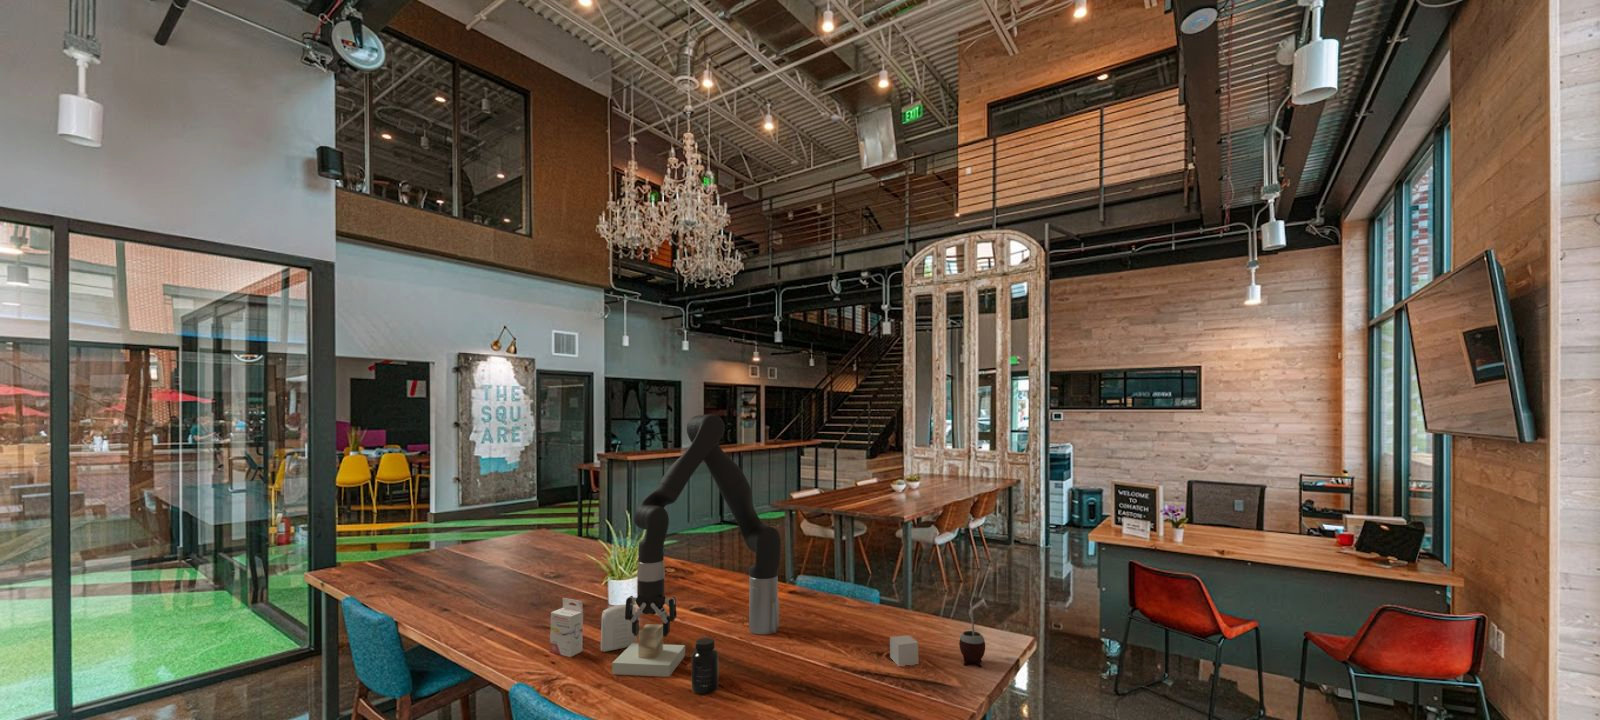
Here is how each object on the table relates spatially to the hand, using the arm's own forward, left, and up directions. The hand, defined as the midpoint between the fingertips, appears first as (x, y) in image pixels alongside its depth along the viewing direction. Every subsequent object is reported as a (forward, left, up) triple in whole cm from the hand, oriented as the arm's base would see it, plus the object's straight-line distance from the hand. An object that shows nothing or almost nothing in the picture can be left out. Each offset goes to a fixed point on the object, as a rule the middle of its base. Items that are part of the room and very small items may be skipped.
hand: (650, 635), depth 174 cm
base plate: (0, 0, -8) cm, 8 cm away
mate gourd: (-90, -11, -8) cm, 91 cm away
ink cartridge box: (+28, -6, -8) cm, 30 cm away
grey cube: (-71, -10, -8) cm, 72 cm away
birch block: (0, 0, -5) cm, 5 cm away
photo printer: (+14, -11, -8) cm, 20 cm away
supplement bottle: (-19, +13, -8) cm, 25 cm away
